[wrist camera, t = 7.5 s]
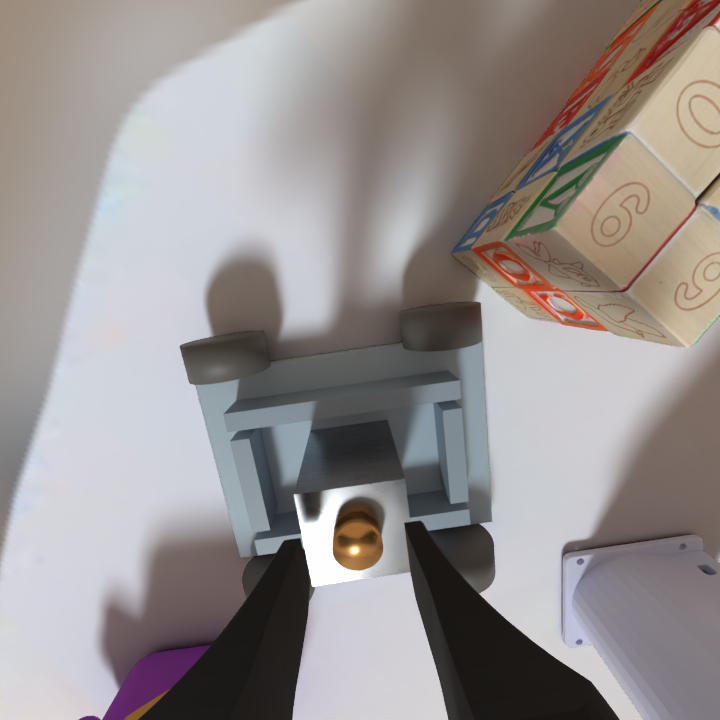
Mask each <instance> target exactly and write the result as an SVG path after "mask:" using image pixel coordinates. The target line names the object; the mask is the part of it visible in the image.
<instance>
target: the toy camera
mask: <svg viewBox="0 0 720 720" xmlns="http://www.w3.org/2000/svg"><path fill="white" fill-rule="evenodd" d="M210 646H211V645H208V646H200V647H192V648H184V649H176V650H169V651H163V652H158V653H154V654H151V655H148V656H146V657H144V658H143V659H141V660H140V661H139V662H138V663H137V664H136V666H135V667H134V668H133V669H132V671H131V672H130V674H129V675H128V677H127V678H126V680H125V682H124V683H123V685H122V687H121V688H120V690H119V692H118V693H117V695H116V697H115V698H114V700H113V702H112V704H111V705H110V707H109V709H108V711H107V712H106V714H105V716H104V717H103V719H102V720H138V719H139V718H140V717H141V716H142V715H143V714H145V713H146V712H147V711H148V710H149V709H150V708H151V707H152V706H153V705H154V704H155V703H156V702H157V701H158V700H160V699H161V698H162V697H163V696H164V695H165V694H166V693H167V692H168V691H169V690H170V689H171V688H172V687H173V686H174V685H175V684H176V683H177V682H178V681H179V680H180V679H181V678H182V677H183V676H184V675H185V674H186V672H187V671H188V670H189V669H190V668H191V667H192V666H193V665H194V664H195V663H196V662H197V661H198V659H199V658H200V657H201V656H202V655H203V654H204V653H205V652H206V651H207V649H208V648H209V647H210ZM79 720H100V719H99V718H98V717H95V716H86V717H83V718H81V719H79Z"/></svg>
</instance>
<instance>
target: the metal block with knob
mask: <svg viewBox="0 0 720 720" xmlns="http://www.w3.org/2000/svg"><path fill="white" fill-rule="evenodd" d="M294 499H295V503H296V508H297V513H298V518H299V523H300V528H301V532H302V537H303V542H304V547H305V552H306V557H307V562H308V566H309V571H310V576H311V581H312V586H318V585H325V584H332V583H338V582H345V581H352V580H359V579H366V578H373V577H380V576H387V575H393V574H400V573H407V572H410V566H409V558H408V550H407V542H406V534H405V526H404V523H406V522H410V515H409V507H408V499H407V490H406V482H405V477H404V473H403V470H402V466H401V463H400V460H399V456H398V453H397V450H396V446H395V443H394V440H393V436H392V433H391V429H390V426H389V423H388V419H387V420H380V421H373V422H366V423H359V424H352V425H345V426H338V427H331V428H324V429H317V430H310V433H309V437H308V441H307V445H306V449H305V453H304V457H303V461H302V464H301V468H300V472H299V476H298V480H297V484H296V488H295V492H294Z"/></svg>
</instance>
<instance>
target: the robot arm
mask: <svg viewBox="0 0 720 720" xmlns="http://www.w3.org/2000/svg"><path fill="white" fill-rule="evenodd" d="M404 526H405V534H406V542H407V550H408V558H409V566H410V572H411V577H412V582H413V587H414V592H415V597H416V601H417V604H418V608H419V611H420V614H421V618H422V621H423V625H424V628H425V631H426V635H427V638H428V642H429V645H430V648H431V652H432V655H433V658H434V662H435V665H436V669H437V672H438V676H439V680H440V684H441V688H442V692H443V697H444V701H445V706H446V710H447V715H448V719H449V720H619V718H618V717H617V715H616V714H615V713H614V711H613V710H612V708H611V707H610V706H609V704H608V703H607V702H606V700H605V699H604V698H603V696H602V695H601V694H600V693H599V691H598V690H597V689H596V687H595V686H594V685H593V684H592V682H591V681H589V680H588V679H586V678H585V677H583V676H582V675H580V674H579V673H577V672H575V671H574V670H572V669H571V668H569V667H568V666H566V665H565V664H563V663H562V662H560V661H559V660H557V659H556V658H554V657H553V656H552V655H550V654H549V653H548V652H546V651H545V650H544V649H542V648H541V647H540V646H538V645H537V644H535V643H534V642H533V641H532V640H530V639H529V638H528V637H527V636H526V635H524V634H523V633H522V632H521V631H519V630H518V629H517V628H516V627H515V626H513V625H512V624H511V623H510V622H508V621H507V620H506V619H505V618H504V617H503V616H502V615H501V614H499V613H498V612H497V611H496V610H495V609H494V608H493V607H492V606H491V605H490V604H489V603H488V602H487V601H486V600H485V599H484V598H483V597H482V596H481V595H480V594H479V593H478V592H477V591H476V590H475V589H474V588H473V587H472V586H471V585H470V584H469V583H468V582H467V581H466V579H465V578H464V577H463V576H462V575H461V574H460V573H459V572H458V570H457V569H456V568H455V567H454V566H453V564H452V563H451V562H450V561H449V559H448V558H447V557H446V556H445V554H444V553H443V552H442V550H441V549H440V548H439V546H438V545H437V543H436V542H435V541H434V539H433V538H432V536H431V535H430V533H429V532H428V530H427V528H426V527H425V525H424V523H423V522H422V521H413V522H406V523H404ZM703 547H704V541H703V539H702V538H700V537H699V536H697V535H686V536H679V537H672V538H665V539H658V540H651V541H645V542H638V543H631V544H624V545H617V546H610V547H603V548H597V549H590V550H583V551H576V552H569V553H567V554H565V555H564V556H563V642H564V643H565V645H566V646H567V647H569V648H575V647H582V646H589V645H593V647H594V648H595V649H596V651H597V652H598V654H599V655H600V657H601V658H602V660H603V661H604V663H605V664H606V666H607V667H608V669H609V670H610V672H611V673H612V674H613V676H614V677H615V679H616V680H617V682H618V683H619V685H620V686H621V688H622V689H623V691H624V692H625V694H626V695H627V696H628V698H629V699H630V701H631V702H632V704H633V705H634V707H635V708H636V710H637V711H638V713H639V714H640V716H641V717H642V719H643V720H720V563H719V562H718V561H716V560H715V559H714V558H712V557H711V556H710V555H708V554H707V553H706V552H704V551H703ZM309 589H310V581H309V576H308V572H307V567H306V562H305V557H304V552H303V548H302V543H301V538H296V539H289V540H284V541H283V543H282V544H281V546H280V547H279V549H278V551H277V552H276V554H275V556H274V557H273V559H272V561H271V562H270V564H269V566H268V567H267V569H266V570H265V572H264V574H263V575H262V577H261V578H260V580H259V581H258V583H257V584H256V586H255V587H254V589H253V591H252V592H251V594H250V595H249V596H248V598H247V599H246V601H245V602H244V603H243V605H242V606H241V608H240V609H239V610H238V612H237V613H236V615H235V616H234V617H233V619H232V620H231V621H230V623H229V624H228V625H227V626H226V628H225V629H224V630H223V631H222V633H221V634H220V635H219V636H218V638H217V639H216V640H215V641H214V642H213V644H212V645H211V646H210V647H209V648H208V649H207V651H206V652H205V653H204V654H203V655H202V656H201V657H200V658H199V659H198V661H197V662H196V663H195V664H194V665H193V666H192V667H191V668H190V669H189V670H188V671H187V672H186V674H185V675H184V676H183V677H182V678H181V679H180V680H179V681H178V682H177V683H176V684H175V685H174V686H173V687H172V688H171V689H170V690H169V691H168V692H167V693H166V694H165V695H164V696H163V697H162V698H161V699H160V700H158V701H157V702H156V703H155V704H154V705H153V706H152V707H151V708H150V709H149V710H148V711H147V712H146V713H145V714H143V715H142V716H141V717H140V718H139V719H138V720H292V716H293V706H294V699H295V691H296V685H297V679H298V673H299V667H300V661H301V654H302V648H303V642H304V636H305V630H306V624H307V617H308V606H309Z"/></svg>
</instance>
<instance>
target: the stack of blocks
mask: <svg viewBox="0 0 720 720" xmlns="http://www.w3.org/2000/svg"><path fill="white" fill-rule="evenodd" d="M451 254H452V255H453V256H454V257H455V258H457V259H458V260H459V261H460V262H462V263H463V264H464V265H465V266H466V267H468V268H469V269H470V270H471V271H472V272H474V273H475V274H476V275H477V276H478V277H480V278H481V279H482V280H483V281H484V282H486V283H487V284H488V285H489V286H491V287H492V288H493V290H495V291H496V292H497V293H498V294H499V295H500V296H502V297H503V298H504V299H505V300H506V301H508V302H509V303H510V304H511V305H513V306H514V307H515V308H516V309H518V310H519V311H520V312H522V313H523V314H524V315H526V316H527V317H529V318H532V319H536V320H542V321H550V322H556V323H561V324H563V325H567V326H574V327H580V328H586V329H591V330H599V331H609V332H611V333H613V334H615V335H617V336H622V337H628V338H633V339H639V340H644V341H649V342H654V343H660V344H665V345H670V346H676V347H683V348H689V347H691V346H693V345H694V344H695V343H696V342H698V340H699V339H700V338H701V337H702V335H703V334H704V333H705V332H706V331H707V330H708V329H709V328H710V326H711V325H712V324H713V323H714V322H715V321H716V320H717V319H718V318H719V317H720V0H642V2H641V3H640V4H639V5H638V7H637V8H636V9H635V11H634V12H633V13H632V14H631V16H630V17H629V18H628V20H627V21H626V22H625V24H624V25H623V26H622V28H621V29H620V30H619V32H618V33H617V34H616V35H615V37H614V38H613V39H612V41H611V42H610V43H609V45H608V48H607V51H606V53H605V54H604V55H603V57H602V58H601V59H600V60H599V61H598V63H597V64H596V65H595V67H594V68H593V69H592V71H591V72H590V73H589V75H588V76H587V77H586V78H585V80H584V81H583V82H582V84H581V85H580V86H579V88H578V89H577V90H576V91H575V93H574V94H573V95H572V97H571V98H570V99H569V100H568V102H567V105H566V107H565V108H564V109H563V110H562V112H561V113H560V114H559V115H558V117H557V118H556V119H555V121H554V122H553V123H552V124H551V126H550V127H549V128H548V130H547V131H546V132H545V134H544V135H543V136H542V138H541V139H540V140H539V141H538V143H537V144H536V146H535V147H534V148H533V149H532V151H531V152H530V153H528V154H527V155H526V156H525V157H523V159H522V160H521V161H520V163H519V164H518V165H517V166H516V168H515V169H514V170H513V172H512V173H511V174H510V175H509V177H508V178H507V179H506V181H505V182H504V183H503V185H502V186H501V187H500V188H499V190H498V191H497V192H496V194H495V195H494V196H493V198H492V199H491V200H490V202H489V203H488V205H487V207H486V208H485V210H484V211H483V212H482V213H481V214H480V216H479V217H478V218H477V220H476V221H475V222H474V223H473V225H472V226H471V227H470V229H469V230H468V231H467V233H466V234H465V235H464V237H463V238H462V239H461V241H460V242H459V243H458V245H457V246H456V247H455V249H454V250H453V252H452V253H451Z"/></svg>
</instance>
